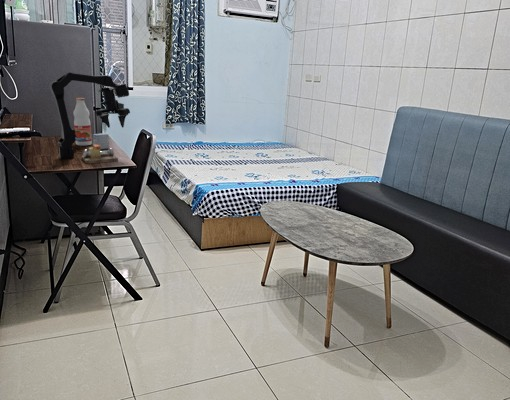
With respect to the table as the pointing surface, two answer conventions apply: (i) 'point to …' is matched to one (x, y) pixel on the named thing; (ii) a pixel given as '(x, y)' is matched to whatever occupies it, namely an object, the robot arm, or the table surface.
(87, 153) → the valve board
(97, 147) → the valve lever
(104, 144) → the medicine box
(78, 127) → the fruit juice
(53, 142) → the table surface
